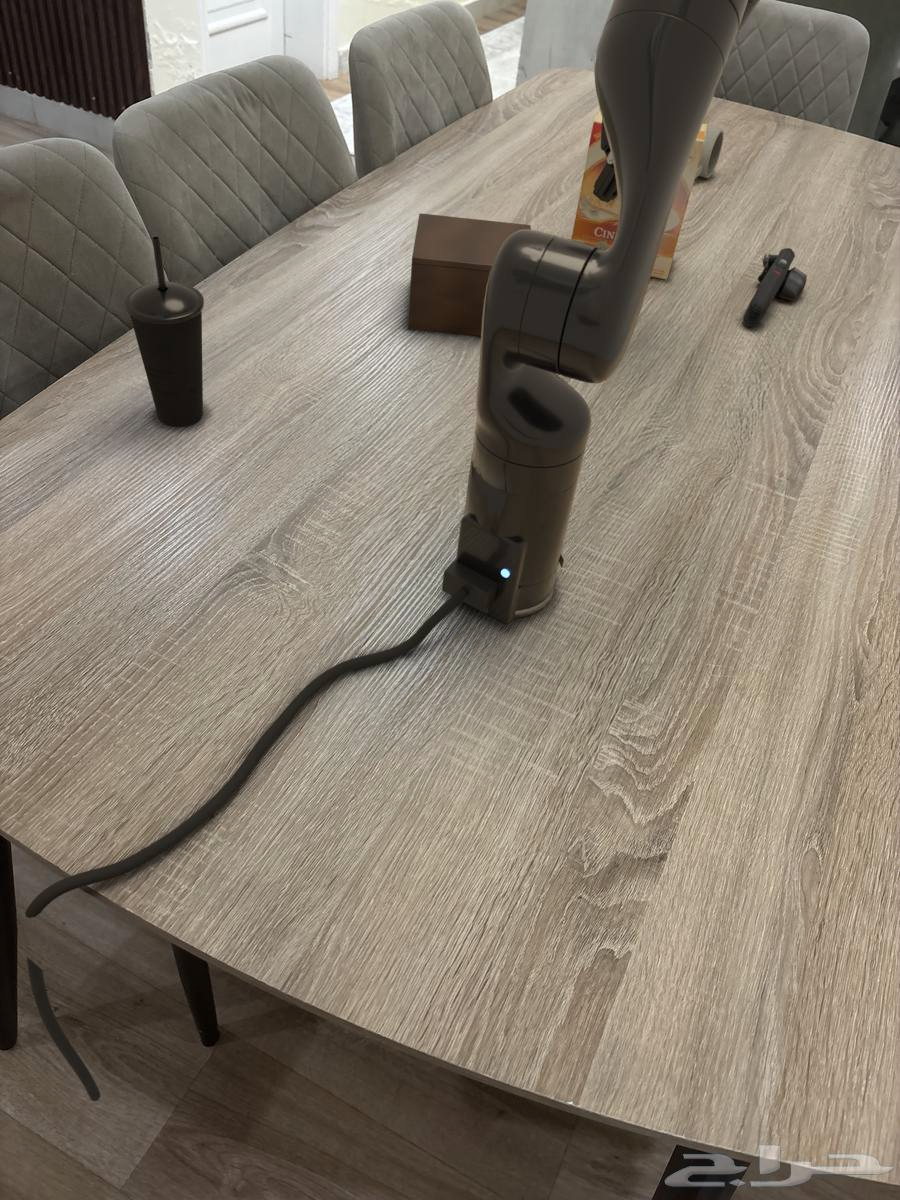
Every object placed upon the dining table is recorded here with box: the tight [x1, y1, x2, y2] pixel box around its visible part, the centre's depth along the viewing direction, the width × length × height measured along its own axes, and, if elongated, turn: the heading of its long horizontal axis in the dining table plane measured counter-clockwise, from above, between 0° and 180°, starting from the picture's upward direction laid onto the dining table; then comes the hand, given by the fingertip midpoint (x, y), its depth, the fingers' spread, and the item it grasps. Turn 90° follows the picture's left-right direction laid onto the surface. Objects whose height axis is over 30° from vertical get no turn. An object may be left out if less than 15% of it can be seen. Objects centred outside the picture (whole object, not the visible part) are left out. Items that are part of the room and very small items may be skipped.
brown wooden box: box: [407, 212, 532, 337], centre depth 121 cm, size 15×13×10 cm
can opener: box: [742, 247, 808, 327], centre depth 131 cm, size 18×7×6 cm, turn 149°
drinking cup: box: [123, 236, 205, 428], centre depth 96 cm, size 8×8×20 cm
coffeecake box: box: [570, 106, 708, 281], centre depth 132 cm, size 15×7×20 cm, turn 76°
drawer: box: [597, 241, 608, 249], centre depth 122 cm, size 15×11×8 cm
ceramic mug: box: [694, 126, 724, 180], centre depth 162 cm, size 11×8×8 cm
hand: (600, 198), depth 114 cm, fingers closed
